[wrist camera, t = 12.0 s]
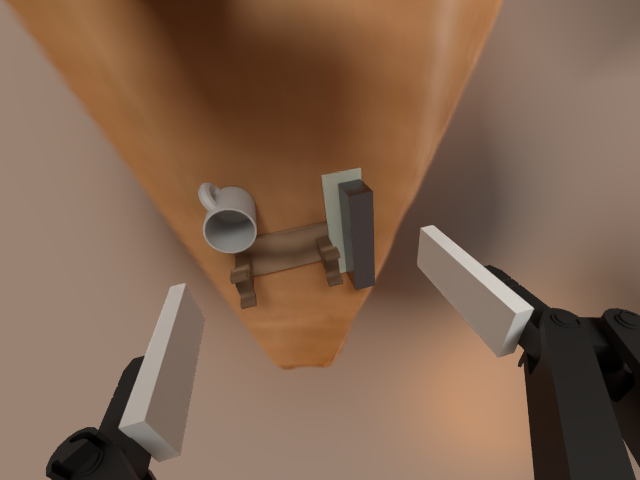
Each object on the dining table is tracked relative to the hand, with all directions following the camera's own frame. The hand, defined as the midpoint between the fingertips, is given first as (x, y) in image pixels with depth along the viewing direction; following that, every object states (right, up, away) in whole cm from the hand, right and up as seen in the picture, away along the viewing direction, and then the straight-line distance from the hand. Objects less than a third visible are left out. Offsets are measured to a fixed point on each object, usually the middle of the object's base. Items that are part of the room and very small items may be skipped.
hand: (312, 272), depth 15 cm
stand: (-7, 0, +36) cm, 37 cm away
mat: (+5, +5, +37) cm, 37 cm away
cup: (-15, +9, +29) cm, 34 cm away
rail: (+7, +4, +37) cm, 38 cm away
